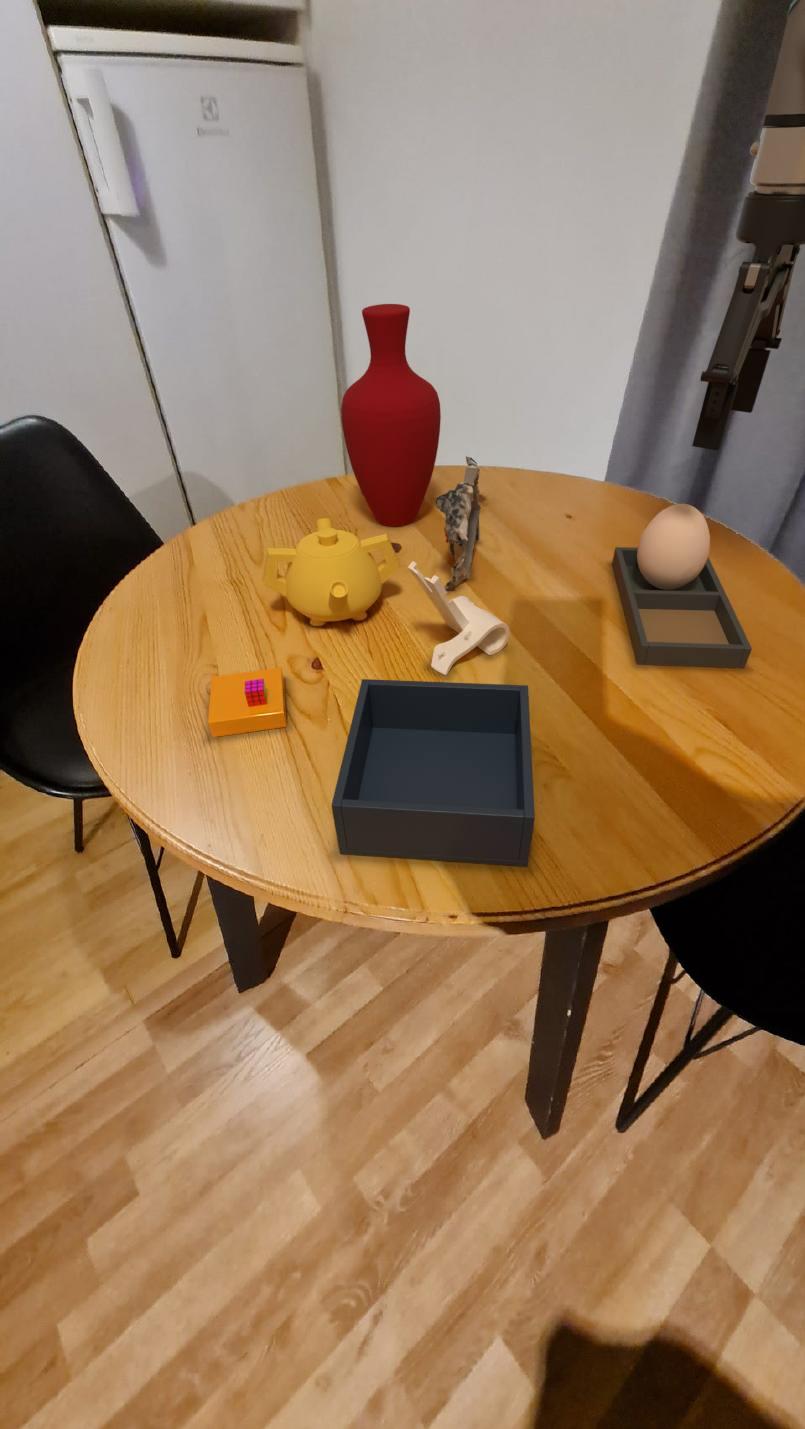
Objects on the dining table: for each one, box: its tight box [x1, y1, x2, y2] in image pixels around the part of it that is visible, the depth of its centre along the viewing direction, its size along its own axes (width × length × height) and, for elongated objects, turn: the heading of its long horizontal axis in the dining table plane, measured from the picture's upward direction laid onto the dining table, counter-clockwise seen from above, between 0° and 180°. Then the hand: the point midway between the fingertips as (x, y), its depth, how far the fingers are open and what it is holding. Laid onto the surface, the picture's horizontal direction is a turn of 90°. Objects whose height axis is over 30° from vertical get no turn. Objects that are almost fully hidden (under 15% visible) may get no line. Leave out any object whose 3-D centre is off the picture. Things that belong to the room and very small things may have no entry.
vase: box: [340, 303, 442, 527], centre depth 98 cm, size 15×15×30 cm
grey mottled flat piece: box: [434, 456, 482, 591], centre depth 91 cm, size 15×4×13 cm, turn 168°
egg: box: [637, 503, 711, 590], centre depth 85 cm, size 9×9×12 cm
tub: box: [330, 678, 536, 868], centre depth 62 cm, size 17×17×7 cm
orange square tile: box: [207, 667, 288, 738], centre depth 72 cm, size 8×8×4 cm
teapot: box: [262, 518, 401, 627], centre depth 85 cm, size 20×18×11 cm
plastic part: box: [407, 560, 511, 676], centre depth 77 cm, size 8×10×12 cm
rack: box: [611, 546, 753, 669], centre depth 84 cm, size 12×23×3 cm, turn 174°
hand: (723, 428), depth 74 cm, fingers open, 13 cm apart
